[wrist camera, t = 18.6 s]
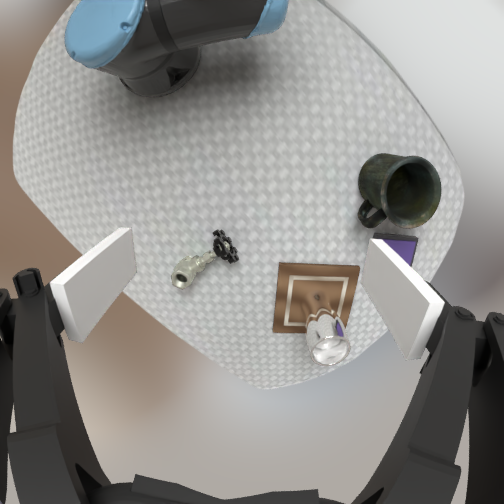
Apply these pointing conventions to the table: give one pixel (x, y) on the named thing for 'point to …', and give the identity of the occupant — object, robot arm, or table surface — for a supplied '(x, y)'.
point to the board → (305, 280)
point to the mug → (398, 190)
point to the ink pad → (400, 245)
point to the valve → (203, 261)
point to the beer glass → (324, 329)
